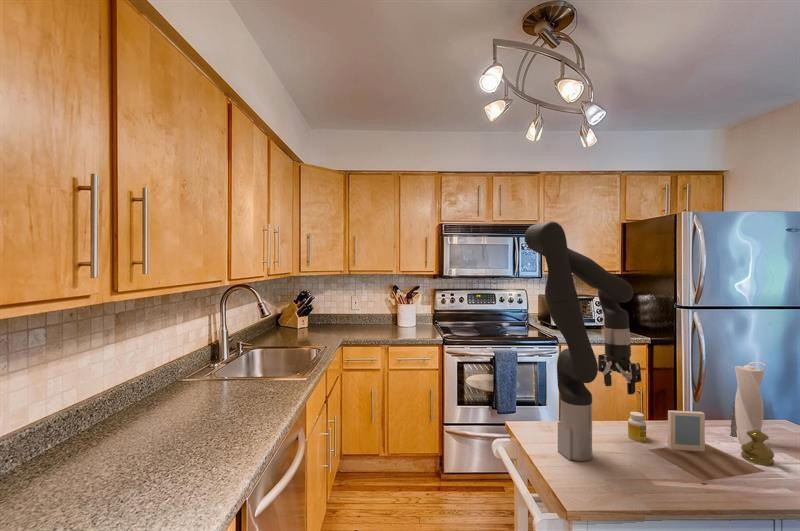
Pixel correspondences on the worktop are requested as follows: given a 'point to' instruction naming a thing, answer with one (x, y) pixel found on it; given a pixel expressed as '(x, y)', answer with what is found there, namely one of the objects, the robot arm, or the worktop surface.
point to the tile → (686, 430)
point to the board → (707, 462)
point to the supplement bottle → (637, 427)
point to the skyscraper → (747, 402)
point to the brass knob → (757, 449)
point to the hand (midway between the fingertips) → (619, 389)
